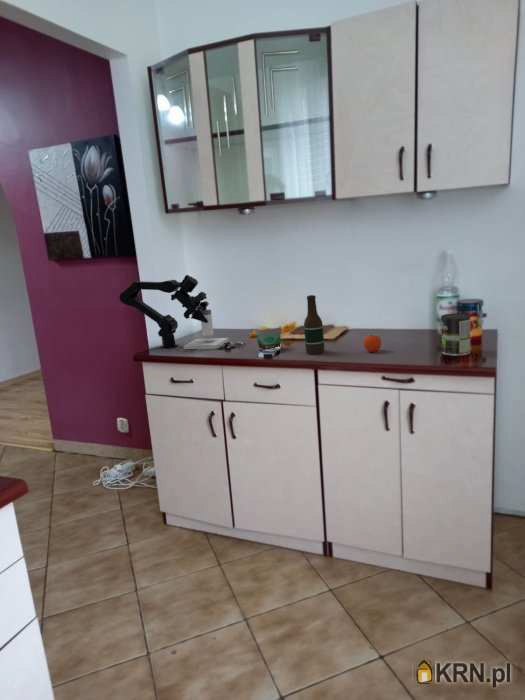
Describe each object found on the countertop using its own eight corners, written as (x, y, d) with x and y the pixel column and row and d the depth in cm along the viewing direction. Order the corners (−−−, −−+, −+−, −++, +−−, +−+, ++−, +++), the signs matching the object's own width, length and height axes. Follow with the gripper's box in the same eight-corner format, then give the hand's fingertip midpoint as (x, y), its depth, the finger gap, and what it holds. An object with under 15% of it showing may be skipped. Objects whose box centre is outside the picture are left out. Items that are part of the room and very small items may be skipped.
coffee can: (445, 356, 193) (444, 319, 190) (439, 350, 203) (438, 314, 200) (474, 354, 192) (473, 316, 189) (466, 348, 202) (466, 312, 199)
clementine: (376, 348, 216) (375, 331, 214) (387, 350, 210) (386, 333, 208) (360, 351, 213) (359, 334, 211) (371, 354, 207) (370, 337, 205)
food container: (260, 354, 226) (257, 331, 224) (256, 351, 232) (254, 329, 230) (287, 350, 229) (285, 327, 227) (282, 347, 235) (280, 325, 233)
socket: (184, 349, 250) (183, 345, 250) (197, 342, 264) (196, 338, 264) (217, 348, 245) (216, 344, 245) (228, 341, 259) (228, 337, 259)
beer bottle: (305, 351, 223) (301, 295, 218) (323, 349, 223) (319, 293, 217) (306, 355, 215) (301, 297, 210) (325, 353, 215) (321, 295, 210)
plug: (202, 335, 252) (199, 311, 249) (205, 334, 256) (203, 309, 253) (210, 335, 251) (207, 310, 248) (213, 333, 254) (210, 309, 252)
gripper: (186, 289, 241) (211, 312, 240) (203, 284, 258) (226, 306, 257) (173, 307, 245) (197, 329, 244) (190, 301, 262) (213, 322, 261)
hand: (209, 321), depth 251 cm, fingers closed on plug, 4 cm apart
